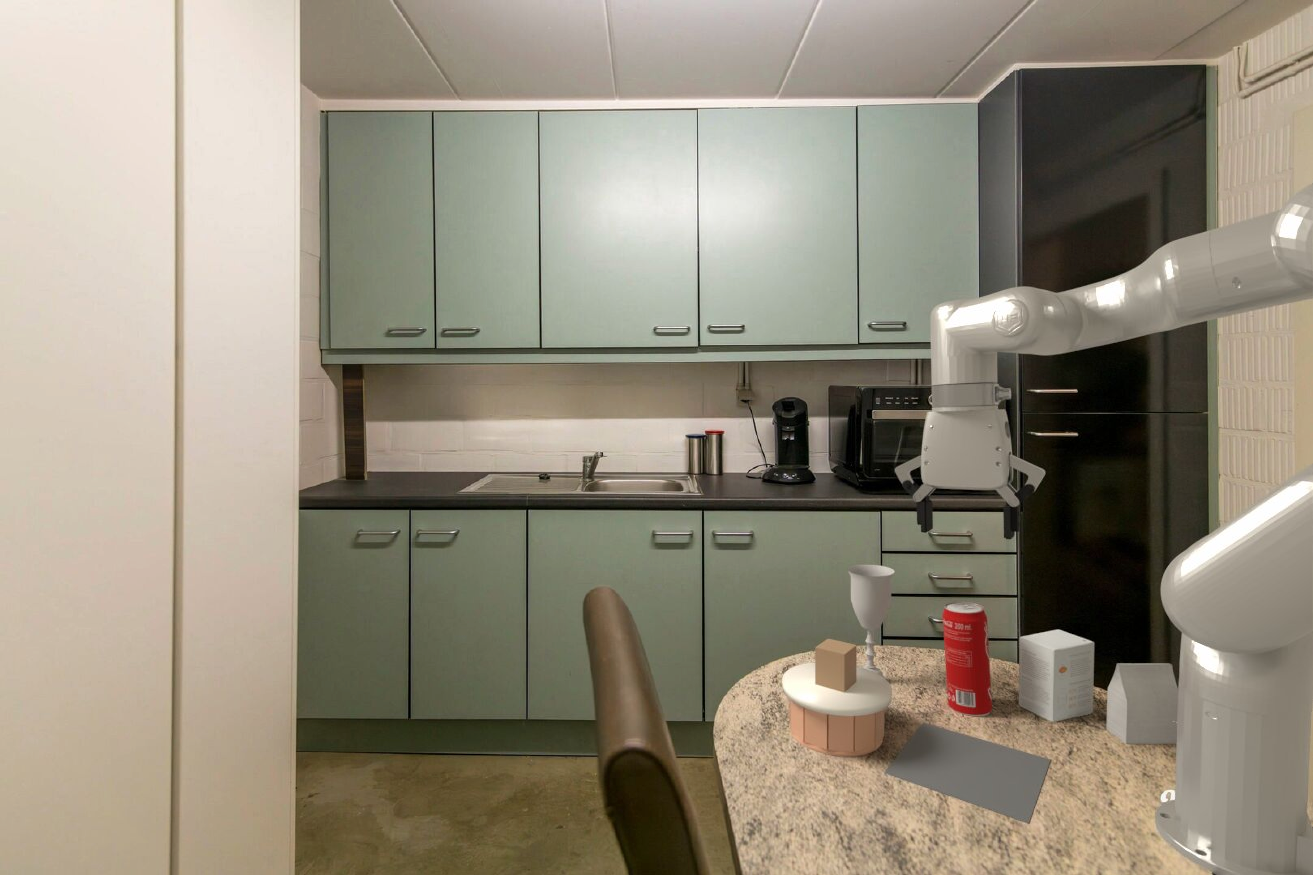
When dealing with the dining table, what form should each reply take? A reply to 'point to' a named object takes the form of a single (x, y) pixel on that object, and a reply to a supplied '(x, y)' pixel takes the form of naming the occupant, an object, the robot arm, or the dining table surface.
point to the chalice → (871, 602)
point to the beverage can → (967, 659)
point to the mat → (972, 770)
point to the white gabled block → (1143, 703)
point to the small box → (1056, 675)
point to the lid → (837, 683)
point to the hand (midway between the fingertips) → (966, 534)
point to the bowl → (836, 731)
